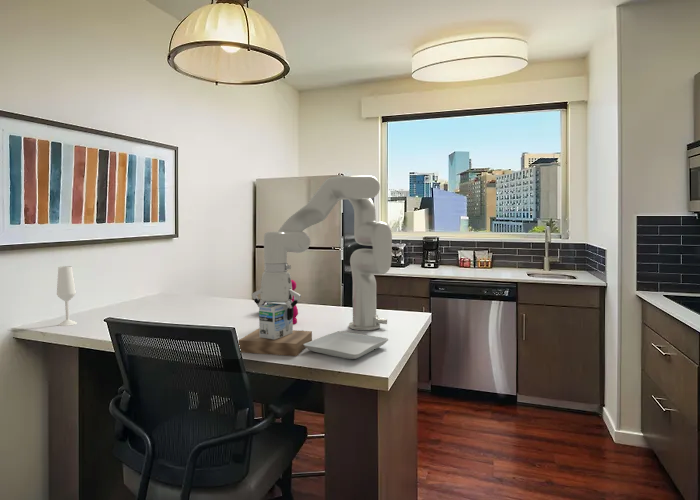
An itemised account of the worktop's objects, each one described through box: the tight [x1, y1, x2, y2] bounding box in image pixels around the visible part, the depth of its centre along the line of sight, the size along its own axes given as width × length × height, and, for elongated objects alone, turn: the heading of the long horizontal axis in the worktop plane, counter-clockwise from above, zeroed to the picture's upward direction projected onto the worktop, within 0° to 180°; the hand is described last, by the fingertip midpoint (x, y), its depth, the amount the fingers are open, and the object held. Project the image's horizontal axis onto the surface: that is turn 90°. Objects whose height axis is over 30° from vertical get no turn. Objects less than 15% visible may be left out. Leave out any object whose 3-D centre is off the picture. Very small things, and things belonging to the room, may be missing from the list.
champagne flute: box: [56, 265, 78, 327], centre depth 182 cm, size 7×7×24 cm
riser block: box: [238, 328, 313, 357], centre depth 149 cm, size 20×16×4 cm
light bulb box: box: [258, 302, 294, 340], centre depth 148 cm, size 11×7×11 cm, turn 153°
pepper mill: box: [290, 275, 299, 325], centre depth 183 cm, size 7×7×20 cm
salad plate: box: [303, 330, 389, 360], centre depth 146 cm, size 21×21×3 cm
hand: (276, 318), depth 148 cm, fingers open, 9 cm apart
